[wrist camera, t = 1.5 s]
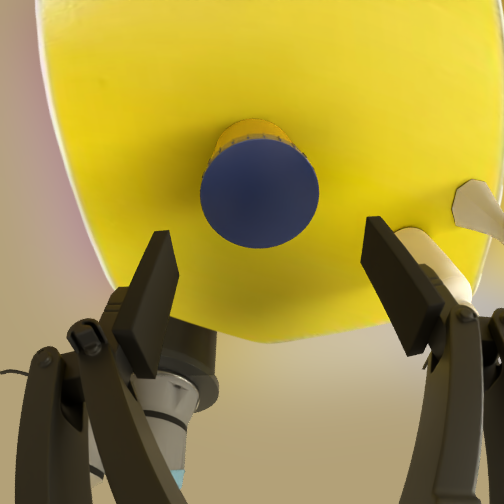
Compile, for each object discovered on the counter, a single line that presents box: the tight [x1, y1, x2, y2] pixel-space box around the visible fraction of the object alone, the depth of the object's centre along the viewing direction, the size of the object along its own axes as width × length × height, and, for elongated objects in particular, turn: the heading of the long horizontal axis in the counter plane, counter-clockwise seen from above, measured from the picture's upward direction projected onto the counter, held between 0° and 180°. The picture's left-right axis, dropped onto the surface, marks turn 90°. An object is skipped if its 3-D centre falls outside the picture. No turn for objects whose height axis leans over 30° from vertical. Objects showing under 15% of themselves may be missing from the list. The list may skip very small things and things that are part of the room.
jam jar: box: [211, 119, 292, 159], centre depth 26 cm, size 8×8×10 cm
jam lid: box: [200, 133, 319, 248], centre depth 22 cm, size 8×8×2 cm
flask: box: [452, 179, 504, 244], centre depth 29 cm, size 7×7×10 cm
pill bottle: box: [394, 227, 479, 316], centre depth 31 cm, size 8×8×15 cm
